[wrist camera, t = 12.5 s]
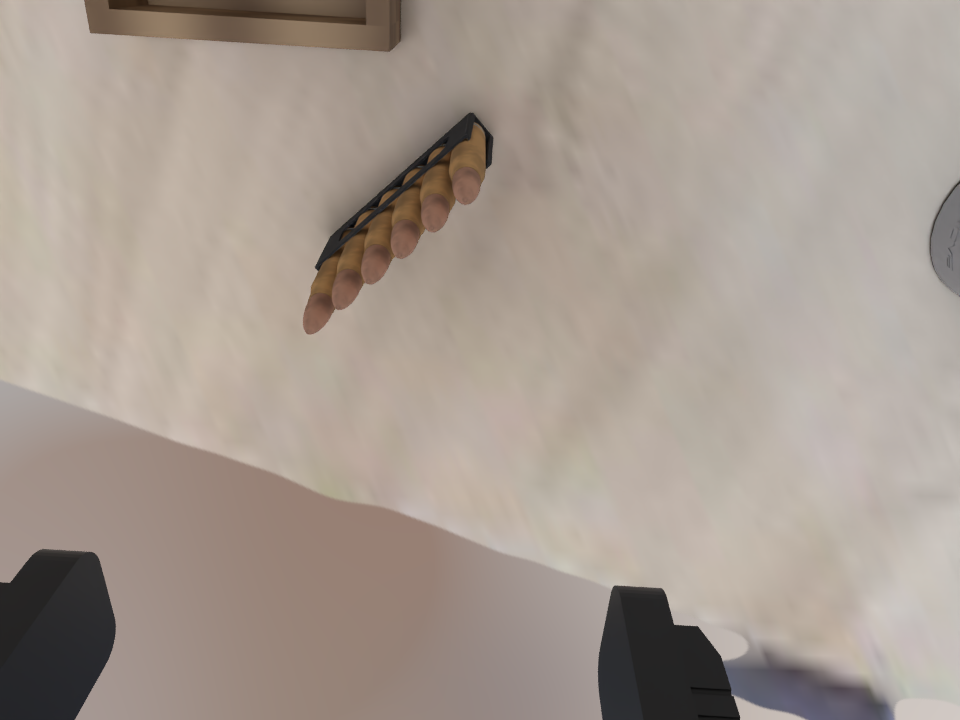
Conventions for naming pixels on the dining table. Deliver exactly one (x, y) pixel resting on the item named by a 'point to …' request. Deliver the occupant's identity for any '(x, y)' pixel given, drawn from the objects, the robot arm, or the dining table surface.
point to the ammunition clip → (399, 218)
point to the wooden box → (255, 21)
